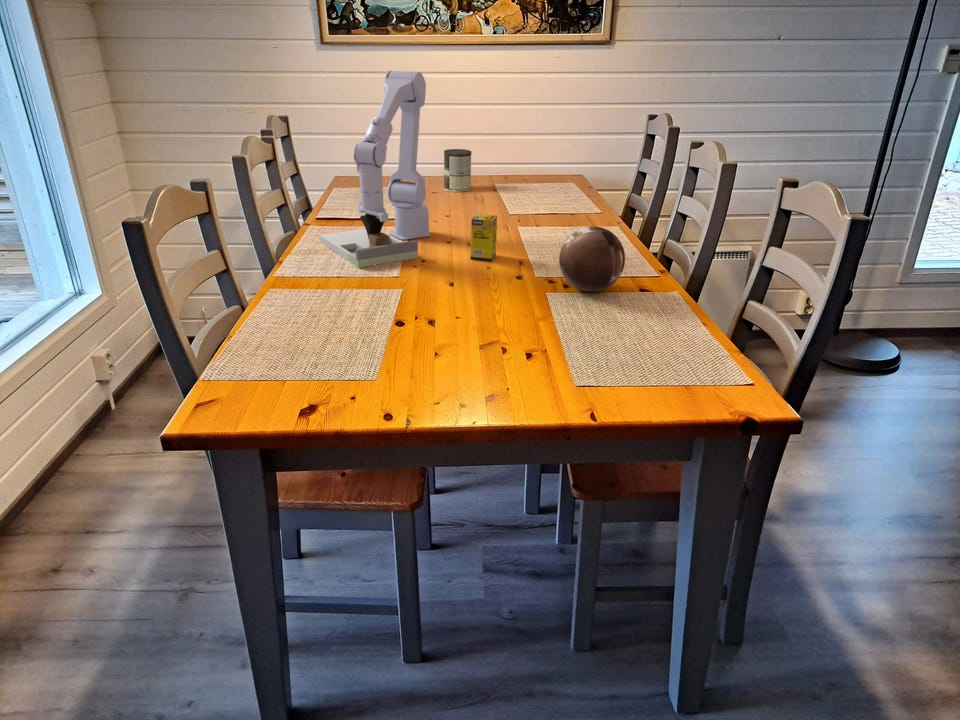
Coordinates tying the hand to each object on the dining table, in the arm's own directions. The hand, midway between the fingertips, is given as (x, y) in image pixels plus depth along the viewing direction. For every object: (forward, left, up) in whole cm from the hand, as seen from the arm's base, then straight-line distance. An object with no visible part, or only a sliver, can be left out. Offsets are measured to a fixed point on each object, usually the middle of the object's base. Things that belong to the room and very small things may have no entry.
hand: (374, 242), depth 174 cm
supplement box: (-24, +16, -3) cm, 29 cm away
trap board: (0, -5, -3) cm, 6 cm away
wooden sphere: (-32, +49, -3) cm, 59 cm away
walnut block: (0, +3, -1) cm, 4 cm away
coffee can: (-62, -59, -3) cm, 85 cm away
